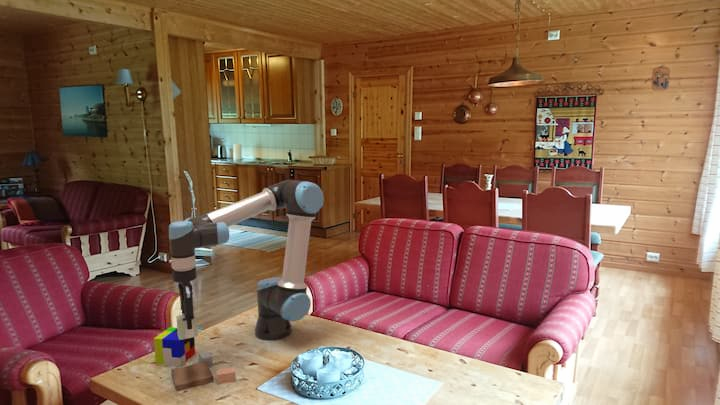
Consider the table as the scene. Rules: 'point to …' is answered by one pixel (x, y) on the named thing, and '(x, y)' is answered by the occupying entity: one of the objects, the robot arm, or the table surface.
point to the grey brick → (205, 357)
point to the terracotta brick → (226, 375)
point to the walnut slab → (192, 376)
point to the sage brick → (182, 326)
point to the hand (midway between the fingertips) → (188, 334)
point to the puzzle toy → (173, 348)
